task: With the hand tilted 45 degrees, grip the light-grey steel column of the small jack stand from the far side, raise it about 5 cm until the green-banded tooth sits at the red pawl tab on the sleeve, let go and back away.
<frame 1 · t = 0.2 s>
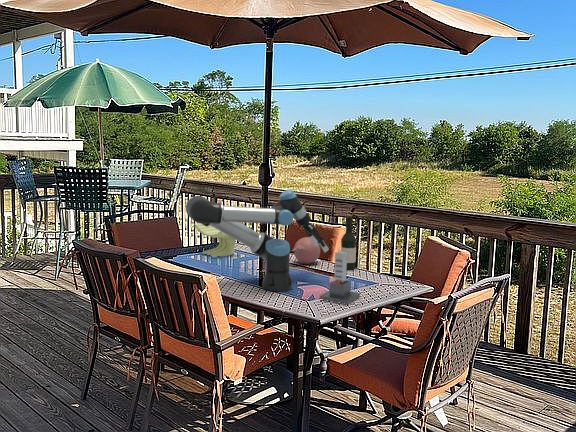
hand: (322, 248, 309), 16 cm above the table, tool tilted 35°, fingers open, 13 cm apart
pink rounded ovoid: (303, 264, 339), on the table
wine bottle: (347, 268, 329), on the table
slatted curved stool: (219, 254, 362), on the table
stand: (339, 298, 273), on the table
column: (340, 273, 271), point 12 cm above the table, slide at 0.0 cm, touching stand
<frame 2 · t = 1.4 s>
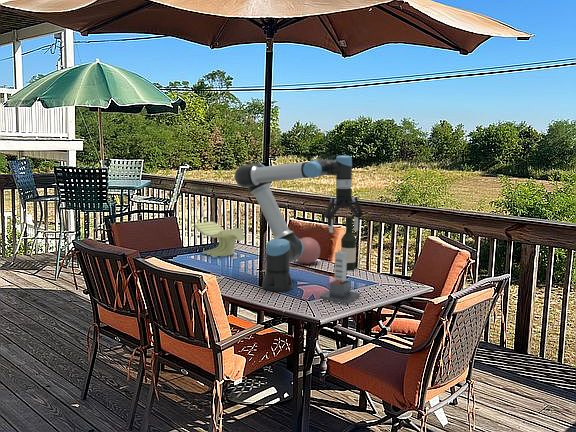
hand: (343, 231, 285), 29 cm above the table, tool pointing down, fingers open, 13 cm apart
column: (340, 273, 271), point 12 cm above the table, slide at 0.0 cm
everything else where it was.
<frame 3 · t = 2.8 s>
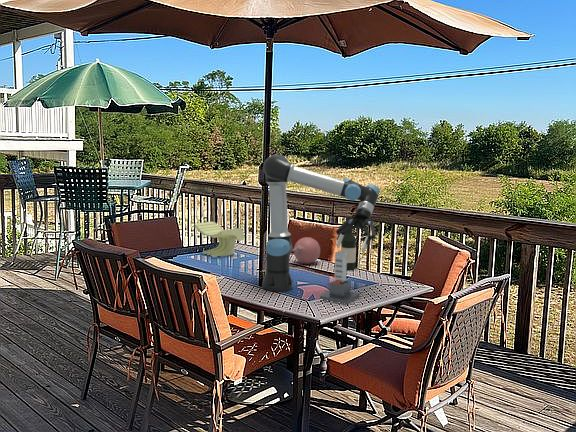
hand: (350, 248, 278), 22 cm above the table, tool tilted 45°, fingers open, 13 cm apart
nothing on the table moved.
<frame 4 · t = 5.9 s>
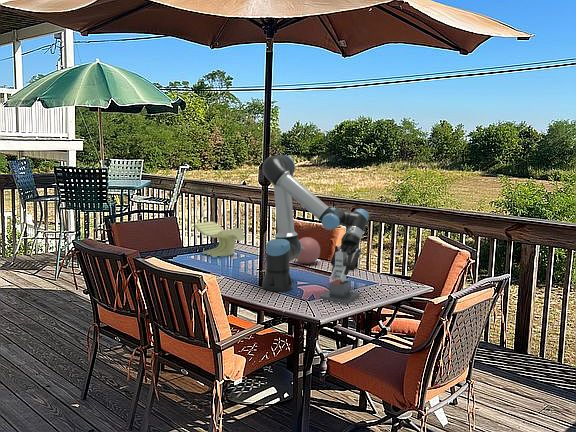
hand: (336, 279, 268), 10 cm above the table, tool tilted 45°, fingers closed on column, 4 cm apart
column: (340, 273, 271), point 12 cm above the table, slide at 0.0 cm, touching gripper, stand
everything else where it was.
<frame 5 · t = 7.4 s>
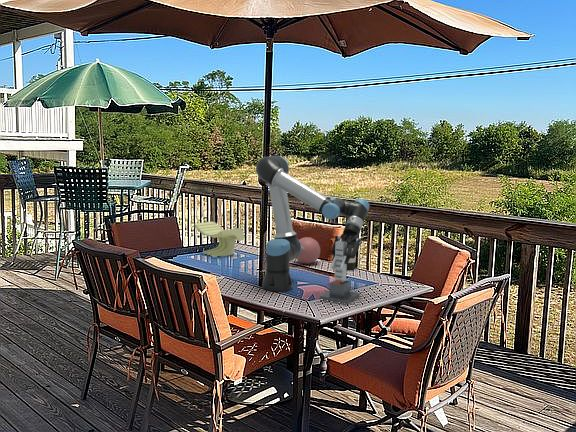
hand: (337, 268, 267), 15 cm above the table, tool tilted 45°, fingers closed on column, 4 cm apart
column: (340, 263, 270), point 17 cm above the table, slide at 5.0 cm, touching gripper
everything else where it was.
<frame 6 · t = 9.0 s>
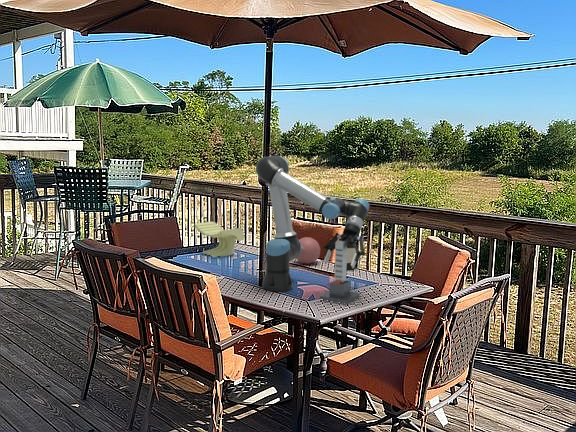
hand: (338, 264, 268), 17 cm above the table, tool tilted 45°, fingers open, 13 cm apart
column: (340, 263, 270), point 17 cm above the table, slide at 5.0 cm
everything else where it was.
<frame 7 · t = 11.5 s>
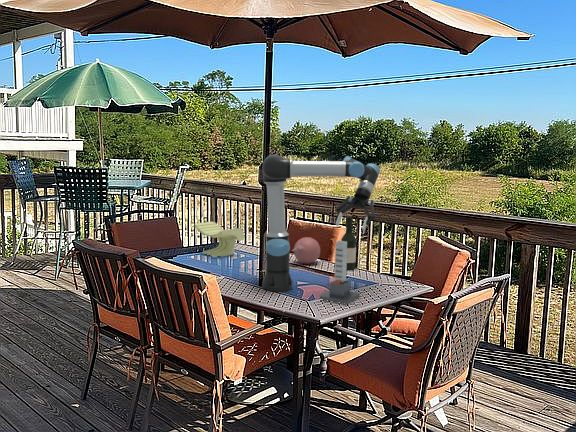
hand: (349, 227, 281), 31 cm above the table, tool tilted 40°, fingers open, 13 cm apart
nothing on the table moved.
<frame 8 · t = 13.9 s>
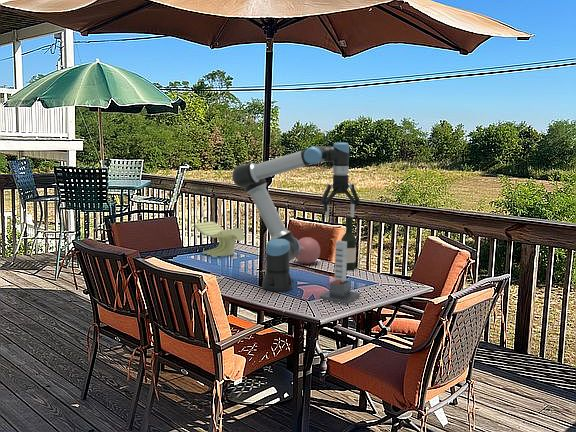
hand: (339, 217, 288), 35 cm above the table, tool pointing down, fingers open, 13 cm apart
nothing on the table moved.
at the end: column slide at 5.0 cm; the gripper is holding nothing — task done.
